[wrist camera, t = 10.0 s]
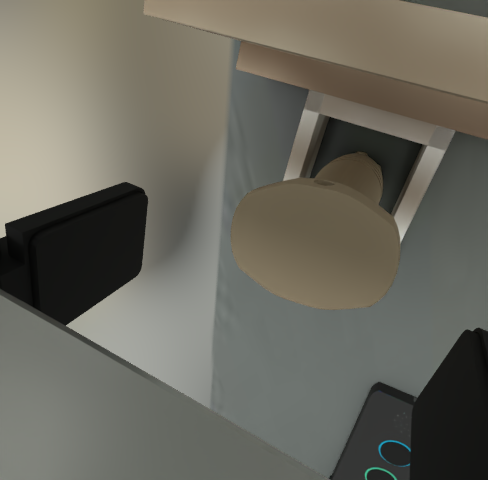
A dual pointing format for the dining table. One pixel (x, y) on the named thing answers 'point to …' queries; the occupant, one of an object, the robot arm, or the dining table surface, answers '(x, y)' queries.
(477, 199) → the dining table surface
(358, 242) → the handle
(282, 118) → the dining table surface
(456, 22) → the wooden wall shelf
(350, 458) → the smart home device
